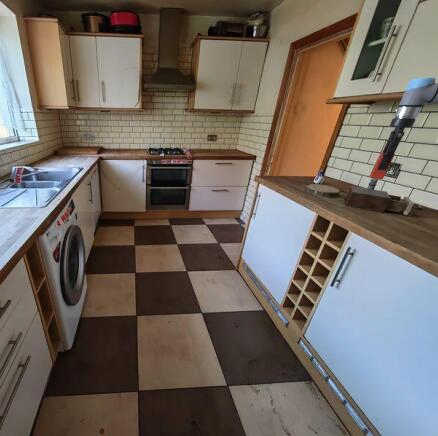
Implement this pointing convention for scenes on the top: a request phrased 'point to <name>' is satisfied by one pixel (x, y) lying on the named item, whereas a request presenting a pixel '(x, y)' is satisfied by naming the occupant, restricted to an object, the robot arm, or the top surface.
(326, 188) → the round wood slice
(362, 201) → the dark wooden block
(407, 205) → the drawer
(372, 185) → the salt shaker
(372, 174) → the tea box
